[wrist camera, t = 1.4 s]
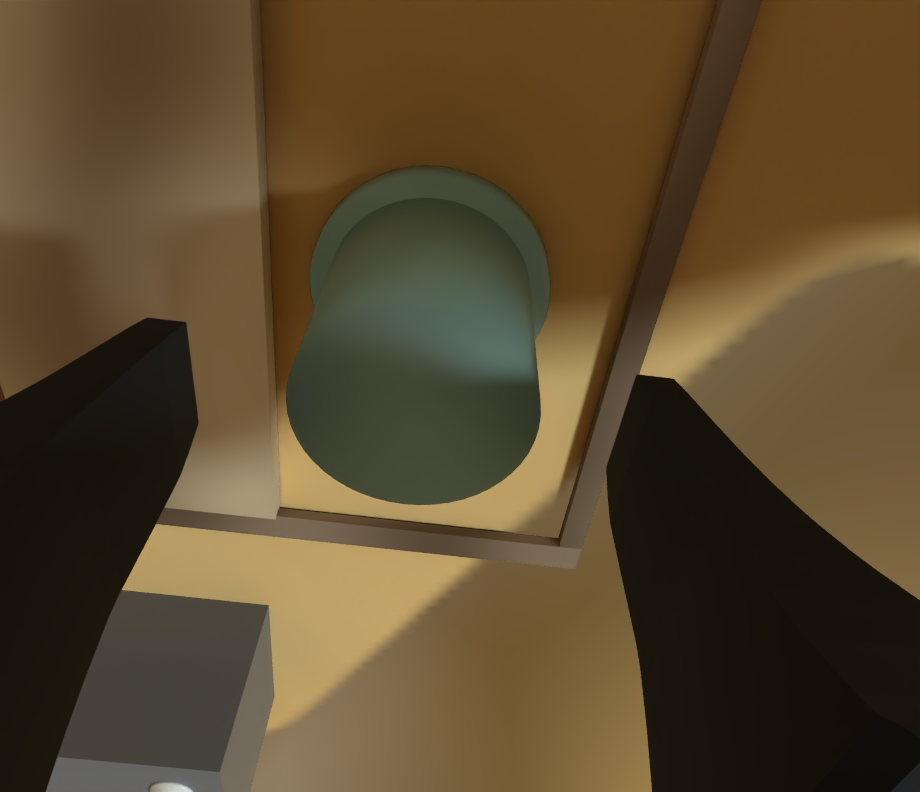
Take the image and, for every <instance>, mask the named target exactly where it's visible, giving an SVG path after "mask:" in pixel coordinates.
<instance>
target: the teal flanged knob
mask: <svg viewBox="0 0 920 792" xmlns="http://www.w3.org/2000/svg"><path fill="white" fill-rule="evenodd" d="M310 290H311V297H312V301H313V306H314V311H313V314H312V317H311V319H310V322H309V324H308V327H307V330H306V332H305V335H304V338H303V340H302V343H301V345H300V348H299V351H298V353H297V356H296V359H295V361H294V364H293V366H292V369H291V372H290V374H289V379H288V383H287V391H286V404H287V413H288V417H289V420H290V424H291V427H292V429H293V431H294V434H295V436H296V438H297V440H298V441H299V443H300V445H301V446H302V448H303V449H304V451H305V452H306V453H307V454H308V456H309V457H310V458H311V459H312V460H313V461H314V462H315V463H316V464H317V465H318V466H319V467H320V468H321V469H322V470H323V471H324V472H326V473H327V474H328V475H330V476H331V477H332V478H334V479H335V480H337V481H339V482H340V483H342V484H344V485H345V486H347V487H349V488H351V489H353V490H355V491H357V492H360V493H362V494H365V495H368V496H371V497H373V498H377V499H381V500H385V501H389V502H395V503H401V504H413V505H431V504H441V503H449V502H453V501H458V500H462V499H465V498H468V497H471V496H474V495H477V494H479V493H481V492H483V491H486V490H488V489H490V488H491V487H493V486H495V485H496V484H498V483H499V482H501V481H502V480H504V479H505V478H506V477H507V476H509V475H510V474H511V473H512V472H513V471H514V470H515V469H516V468H517V467H518V466H519V465H520V464H521V463H522V461H523V460H524V459H525V457H526V456H527V454H528V453H529V451H530V449H531V447H532V445H533V443H534V441H535V439H536V436H537V432H538V429H539V424H540V417H541V406H540V392H539V381H538V370H537V359H536V348H535V339H536V337H537V335H538V334H539V332H540V330H541V327H542V325H543V323H544V321H545V317H546V314H547V310H548V306H549V299H550V277H549V269H548V263H547V256H546V252H545V248H544V245H543V242H542V239H541V237H540V235H539V233H538V231H537V228H536V226H535V225H534V223H533V222H532V220H531V219H530V217H529V216H528V214H527V213H526V212H525V211H524V210H523V208H522V207H521V206H520V205H519V204H518V203H517V202H516V201H515V200H514V199H513V198H512V197H511V196H509V195H508V194H507V193H506V192H505V191H503V190H502V189H500V188H499V187H497V186H496V185H494V184H493V183H491V182H489V181H487V180H485V179H483V178H481V177H479V176H477V175H474V174H471V173H468V172H465V171H462V170H458V169H453V168H448V167H441V166H413V167H406V168H401V169H396V170H392V171H389V172H387V173H384V174H381V175H378V176H376V177H374V178H372V179H370V180H368V181H366V182H364V183H363V184H361V185H360V186H359V187H357V188H356V189H354V190H353V191H352V192H350V193H349V194H348V195H347V196H346V197H345V198H344V199H343V200H342V201H341V202H340V203H339V204H338V206H337V207H336V208H335V209H334V211H333V212H332V213H331V215H330V217H329V219H328V220H327V222H326V224H325V226H324V228H323V230H322V232H321V235H320V237H319V239H318V242H317V244H316V247H315V250H314V252H313V257H312V262H311V267H310Z"/></svg>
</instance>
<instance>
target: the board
mask: <svg viewBox="0 0 920 792" xmlns="http://www.w3.org/2000/svg"><path fill="white" fill-rule="evenodd" d="M761 1H762V0H717V3H716V7H715V10H714V14H713V17H712V20H711V24H710V27H709V31H708V34H707V37H706V41H705V44H704V47H703V51H702V54H701V58H700V61H699V64H698V68H697V71H696V74H695V78H694V81H693V85H692V88H691V91H690V95H689V98H688V102H687V105H686V108H685V112H684V115H683V118H682V122H681V125H680V129H679V132H678V135H677V139H676V142H675V146H674V149H673V152H672V156H671V159H670V162H669V166H668V169H667V173H666V176H665V179H664V183H663V186H662V189H661V193H660V196H659V200H658V203H657V206H656V210H655V213H654V217H653V220H652V223H651V227H650V230H649V233H648V237H647V240H646V244H645V247H644V250H643V254H642V257H641V261H640V264H639V267H638V271H637V274H636V277H635V281H634V284H633V288H632V291H631V294H630V298H629V301H628V304H627V308H626V311H625V315H624V318H623V321H622V325H621V328H620V332H619V335H618V338H617V342H616V345H615V348H614V352H613V355H612V359H611V362H610V365H609V369H608V372H607V376H606V379H605V382H604V386H603V389H602V392H601V396H600V399H599V403H598V406H597V409H596V413H595V416H594V419H593V423H592V426H591V430H590V433H589V436H588V440H587V443H586V447H585V450H584V453H583V457H582V460H581V463H580V467H579V470H578V474H577V477H576V480H575V484H574V487H573V491H572V494H571V497H570V501H569V504H568V507H567V511H566V514H565V518H564V521H563V524H562V528H561V531H560V534H559V538H550V537H541V536H532V535H522V534H514V533H504V532H495V531H486V530H477V529H468V528H459V527H450V526H441V525H431V524H422V523H413V522H404V521H395V520H386V519H377V518H368V517H358V516H349V515H340V514H331V513H322V512H313V511H304V510H294V509H285V508H279V506H280V503H281V500H280V476H279V452H278V428H277V403H276V379H275V355H274V331H273V307H272V283H271V258H270V234H269V210H268V186H267V162H266V138H265V114H264V89H263V65H262V41H261V17H260V0H0V402H1V401H3V400H5V399H7V398H9V397H10V396H12V395H14V394H16V393H18V392H20V391H22V390H23V389H25V388H27V387H29V386H31V385H33V384H35V383H36V382H38V381H40V380H42V379H44V378H45V377H47V376H49V375H50V374H52V373H54V372H55V371H57V370H59V369H61V368H62V367H64V366H66V365H67V364H69V363H71V362H72V361H74V360H76V359H77V358H79V357H81V356H82V355H84V354H86V353H87V352H89V351H91V350H92V349H94V348H96V347H97V346H99V345H100V344H102V343H104V342H105V341H107V340H109V339H110V338H112V337H114V336H115V335H117V334H119V333H120V332H122V331H124V330H125V329H127V328H129V327H130V326H132V325H134V324H136V323H138V322H139V321H141V320H143V319H145V318H156V319H165V320H173V321H182V322H186V324H187V332H188V340H189V348H190V356H191V364H192V372H193V380H194V388H195V396H196V404H197V412H198V420H199V424H198V427H197V430H196V433H195V436H194V439H193V442H192V445H191V448H190V451H189V454H188V457H187V459H186V462H185V465H184V468H183V470H182V473H181V476H180V478H179V480H178V482H177V484H176V486H175V488H174V490H173V492H172V494H171V496H170V498H169V500H168V501H167V503H166V505H165V507H164V509H163V511H162V513H161V515H160V517H159V519H158V521H157V523H156V524H162V525H171V526H181V527H190V528H199V529H208V530H218V531H227V532H236V533H246V534H255V535H264V536H273V537H283V538H292V539H301V540H310V541H320V542H329V543H338V544H348V545H357V546H366V547H375V548H385V549H394V550H403V551H412V552H422V553H431V554H440V555H450V556H459V557H468V558H477V559H487V560H496V561H505V562H514V563H524V564H534V565H542V566H552V567H561V568H571V569H575V568H576V565H577V562H578V559H579V555H580V552H581V550H582V546H583V543H584V540H585V537H586V534H587V531H588V528H589V525H590V521H591V519H592V516H593V513H594V510H595V507H596V504H597V501H598V498H599V495H600V492H601V488H602V485H603V483H604V479H605V476H606V466H607V463H608V460H609V457H610V454H611V451H612V448H613V445H614V442H615V439H616V436H617V433H618V429H619V426H620V423H621V420H622V417H623V414H624V411H625V408H626V405H627V402H628V399H629V396H630V393H631V389H632V386H633V383H634V380H635V377H636V374H637V375H639V373H640V370H641V367H642V364H643V361H644V358H645V355H646V352H647V349H648V345H649V342H650V339H651V336H652V333H653V330H654V327H655V324H656V321H657V318H658V315H659V312H660V309H661V306H662V303H663V300H664V297H665V294H666V291H667V288H668V285H669V282H670V278H671V275H672V272H673V269H674V266H675V263H676V260H677V257H678V254H679V251H680V248H681V245H682V242H683V239H684V236H685V233H686V230H687V227H688V224H689V221H690V218H691V215H692V211H693V208H694V205H695V202H696V199H697V196H698V193H699V190H700V187H701V184H702V181H703V178H704V175H705V172H706V169H707V166H708V163H709V160H710V157H711V154H712V151H713V148H714V144H715V141H716V138H717V135H718V132H719V129H720V126H721V123H722V120H723V117H724V114H725V111H726V108H727V105H728V102H729V99H730V96H731V93H732V90H733V87H734V84H735V81H736V77H737V74H738V71H739V68H740V65H741V62H742V59H743V56H744V53H745V50H746V47H747V44H748V41H749V38H750V35H751V32H752V29H753V26H754V23H755V20H756V17H757V14H758V10H759V7H760V4H761Z"/></svg>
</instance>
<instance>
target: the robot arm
mask: <svg viewBox="0 0 920 792" xmlns="http://www.w3.org/2000/svg"><path fill="white" fill-rule="evenodd" d="M198 424H199V420H198V412H197V404H196V396H195V388H194V380H193V372H192V364H191V356H190V348H189V340H188V332H187V324H186V322H182V321H173V320H165V319H156V318H145V319H143V320H141V321H139V322H138V323H136V324H134V325H132V326H130V327H129V328H127V329H125V330H124V331H122V332H120V333H119V334H117V335H115V336H114V337H112V338H110V339H109V340H107V341H105V342H104V343H102V344H100V345H99V346H97V347H96V348H94V349H92V350H91V351H89V352H87V353H86V354H84V355H82V356H81V357H79V358H77V359H76V360H74V361H72V362H71V363H69V364H67V365H66V366H64V367H62V368H61V369H59V370H57V371H55V372H54V373H52V374H50V375H49V376H47V377H45V378H44V379H42V380H40V381H38V382H36V383H35V384H33V385H31V386H29V387H27V388H25V389H23V390H22V391H20V392H18V393H16V394H14V395H12V396H10V397H9V398H7V399H5V400H3V401H1V402H0V792H46V790H47V787H48V784H49V781H50V778H51V775H52V772H53V769H54V766H55V763H56V760H57V757H58V754H59V751H60V748H61V745H62V742H63V739H64V736H65V733H66V730H67V727H68V725H69V722H70V719H71V716H72V714H73V711H74V708H75V705H76V702H77V700H78V697H79V694H80V691H81V689H82V686H83V683H84V680H85V678H86V675H87V672H88V670H89V667H90V664H91V662H92V659H93V657H94V654H95V652H96V649H97V646H98V644H99V641H100V639H101V636H102V634H103V631H104V628H105V626H106V623H107V621H108V618H109V616H110V613H111V611H112V609H113V607H114V605H115V603H116V601H117V598H118V596H119V594H120V592H121V590H122V588H123V586H124V584H125V582H126V580H127V578H128V576H129V574H130V573H131V571H132V569H133V567H134V565H135V563H136V561H137V559H138V557H139V555H140V553H141V551H142V550H143V548H144V546H145V544H146V542H147V540H148V538H149V536H150V534H151V532H152V530H153V529H154V527H155V525H156V523H157V521H158V519H159V517H160V515H161V513H162V511H163V509H164V507H165V505H166V503H167V501H168V500H169V498H170V496H171V494H172V492H173V490H174V488H175V486H176V484H177V482H178V480H179V478H180V476H181V473H182V470H183V468H184V465H185V462H186V459H187V457H188V454H189V451H190V448H191V445H192V442H193V439H194V436H195V433H196V430H197V427H198ZM606 474H607V491H608V504H609V515H610V524H611V529H612V534H613V539H614V543H615V548H616V552H617V557H618V562H619V567H620V571H621V576H622V580H623V585H624V589H625V594H626V599H627V603H628V608H629V612H630V617H631V622H632V626H633V631H634V635H635V640H636V645H637V651H638V657H639V663H640V670H641V679H642V688H643V697H644V706H645V716H646V725H647V735H648V747H649V759H650V771H651V782H652V792H920V600H919V599H917V598H916V597H914V596H913V595H911V594H910V593H908V592H907V591H905V590H904V589H903V588H901V587H900V586H898V585H897V584H896V583H894V582H893V581H891V580H890V579H888V578H887V577H885V576H884V575H883V574H881V573H880V572H878V571H877V570H876V569H874V568H873V567H872V566H870V565H869V564H868V563H866V562H865V561H863V560H862V559H861V558H859V557H858V556H857V555H856V554H854V553H853V552H852V551H850V550H849V549H848V548H847V547H845V546H844V545H843V544H842V543H841V542H839V541H838V540H837V539H836V538H834V537H833V536H832V535H831V534H829V533H828V532H827V531H826V530H824V529H823V528H822V527H821V526H819V525H818V524H817V523H816V522H814V520H812V519H811V518H810V517H809V516H808V515H807V514H805V513H804V512H803V511H802V510H801V509H800V508H799V507H798V506H797V505H795V504H794V503H793V502H792V501H791V500H790V499H789V498H788V497H787V496H786V495H785V494H784V493H783V492H781V490H779V489H778V488H777V487H776V486H775V485H774V484H773V483H772V482H771V481H770V480H769V479H768V478H767V477H766V476H765V475H764V474H763V473H762V472H761V471H760V470H759V469H758V468H757V467H756V466H754V464H753V463H752V462H751V461H750V460H749V459H748V458H747V457H746V456H745V455H744V454H743V453H742V452H741V451H740V450H739V449H738V448H737V447H736V445H735V444H734V443H733V442H732V441H731V440H730V439H729V438H728V437H727V436H726V435H725V434H724V433H723V432H722V430H721V429H720V428H719V427H718V426H717V425H716V424H715V423H714V422H713V421H712V419H711V418H710V417H709V416H708V415H707V414H706V413H705V412H704V411H703V410H702V409H701V407H700V406H699V405H698V404H697V403H696V402H695V401H694V400H693V399H692V397H691V396H690V395H689V394H688V393H687V392H686V391H685V390H684V389H683V388H682V387H681V386H680V385H679V384H678V383H677V382H676V381H675V380H674V379H671V378H663V377H654V376H645V375H637V374H636V377H635V380H634V383H633V386H632V389H631V393H630V396H629V399H628V402H627V405H626V408H625V411H624V414H623V417H622V420H621V423H620V426H619V429H618V433H617V436H616V439H615V442H614V445H613V448H612V451H611V454H610V457H609V460H608V463H607V466H606Z"/></svg>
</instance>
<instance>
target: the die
mask: <svg viewBox="0 0 920 792" xmlns="http://www.w3.org/2000/svg"><path fill="white" fill-rule="evenodd" d="M273 699H274V684H273V668H272V651H271V635H270V619H269V605H259V604H250V603H240V602H231V601H221V600H211V599H202V598H192V597H183V596H173V595H163V594H154V593H144V592H135V591H125V590H121V592H120V594H119V596H118V598H117V601H116V603H115V605H114V607H113V609H112V611H111V613H110V616H109V618H108V621H107V623H106V626H105V628H104V631H103V634H102V636H101V639H100V641H99V644H98V646H97V649H96V652H95V654H94V657H93V659H92V662H91V664H90V667H89V670H88V672H87V675H86V678H85V680H84V683H83V686H82V689H81V691H80V694H79V697H78V700H77V702H76V705H75V708H74V711H73V714H72V716H71V719H70V722H69V725H68V727H67V730H66V733H65V736H64V739H63V742H62V745H61V748H60V751H59V754H58V757H57V760H56V763H55V766H54V769H53V772H52V775H51V778H50V781H49V784H48V787H47V790H46V792H250V789H251V785H252V782H253V778H254V774H255V769H256V766H257V762H258V758H259V754H260V750H261V746H262V743H263V739H264V735H265V731H266V727H267V723H268V719H269V715H270V711H271V707H272V703H273Z"/></svg>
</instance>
